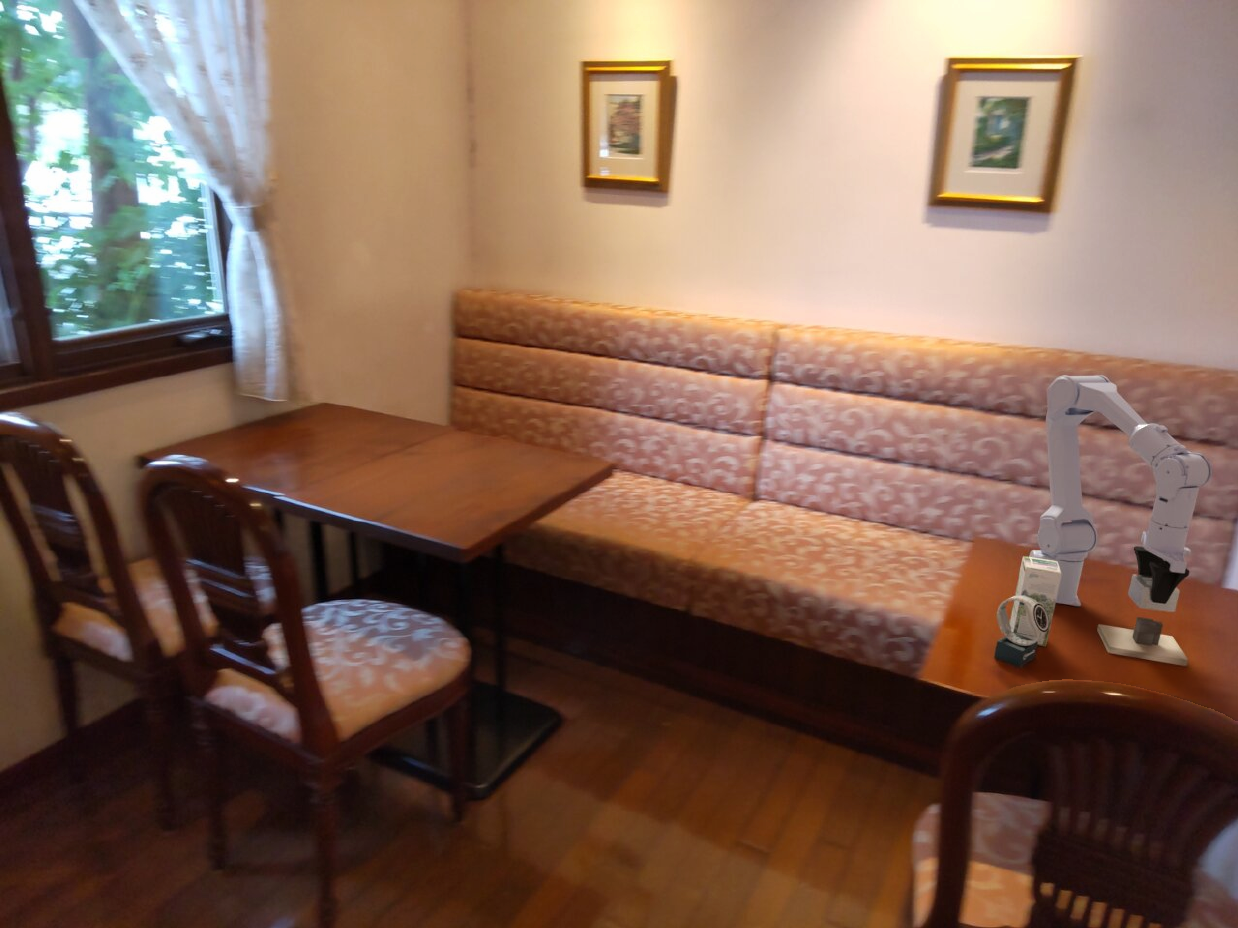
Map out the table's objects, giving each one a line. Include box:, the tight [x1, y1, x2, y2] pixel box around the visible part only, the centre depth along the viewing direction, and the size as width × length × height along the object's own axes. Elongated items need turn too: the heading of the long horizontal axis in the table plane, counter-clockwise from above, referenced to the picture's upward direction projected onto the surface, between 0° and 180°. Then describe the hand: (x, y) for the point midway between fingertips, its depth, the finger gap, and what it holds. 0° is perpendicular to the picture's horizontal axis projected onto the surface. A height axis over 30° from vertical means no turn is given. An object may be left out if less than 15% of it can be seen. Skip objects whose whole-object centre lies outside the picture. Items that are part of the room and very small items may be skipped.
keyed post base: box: [1096, 616, 1189, 667], centre depth 150 cm, size 12×9×5 cm
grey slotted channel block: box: [1127, 573, 1181, 613], centre depth 149 cm, size 6×6×4 cm
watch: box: [993, 595, 1049, 669], centre depth 143 cm, size 6×8×11 cm
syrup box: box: [1009, 555, 1062, 647], centre depth 150 cm, size 6×6×14 cm
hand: (1152, 595), depth 149 cm, fingers closed on grey slotted channel block, 6 cm apart
